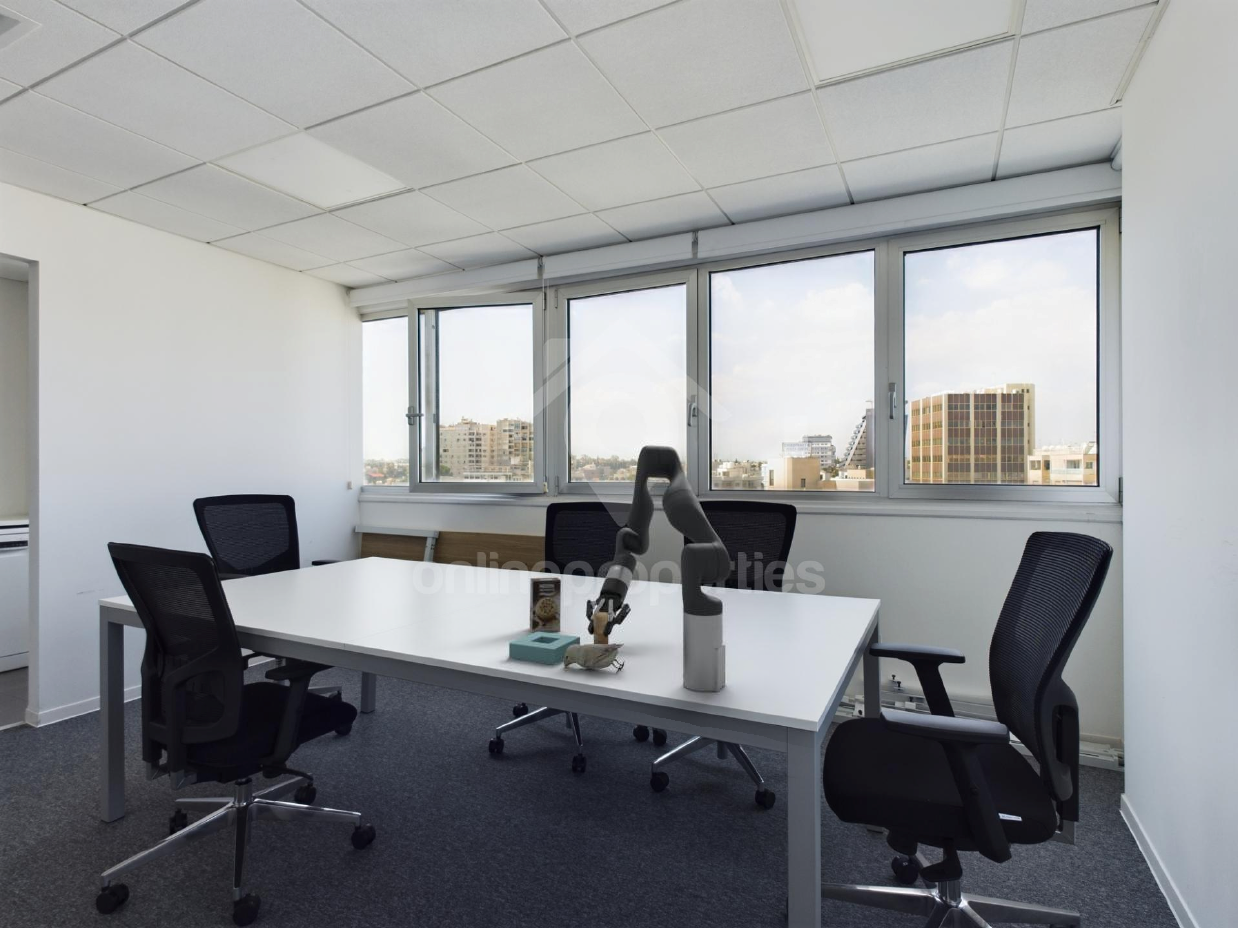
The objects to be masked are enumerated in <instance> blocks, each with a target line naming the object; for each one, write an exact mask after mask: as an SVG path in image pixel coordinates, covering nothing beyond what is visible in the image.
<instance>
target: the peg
mask: <svg viewBox="0 0 1238 928" xmlns="http://www.w3.org/2000/svg"><path fill="white" fill-rule="evenodd" d="M593 614H594V634H593V644H604V645H606V644H609V636H608V637H605V635H604V633H603V632H604V629H605V626H606V624H607V622H609V613H608V612H595V613H594V612H593Z"/></svg>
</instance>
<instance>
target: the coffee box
mask: <svg viewBox="0 0 1238 928" xmlns="http://www.w3.org/2000/svg"><path fill="white" fill-rule="evenodd" d="M529 584H530V586H529V587H530V589H529V590H530V591H529V592H530V593H529V629H530V631H531V633H535V632H545V633H551V632H560V631H561V614H562V613H561V608H562V607H561V606H562V605H561V601H562V600H561V599H562V597H561V594H562V592H561V591H562V588H561V587H562V586H561V585H562V579H560V578H559V577H536V578H535V577H532V578H530V583H529Z"/></svg>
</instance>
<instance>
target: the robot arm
mask: <svg viewBox="0 0 1238 928" xmlns="http://www.w3.org/2000/svg"><path fill="white" fill-rule="evenodd" d="M649 478H653V479H666V480H667V481H669V484H668V485H667V487H666V489H665V491H664V492H663V495H662V500H661V505H662V508H663V511H664V514H665V516H666V518H667V520H668V522H669V524H670V525H671V526H672V527H673V529H675V530H676V531H678V532H679V533H680V534H682V535H684V536H685V537H686V538H688V539H689V540H690V541H692V542H693V543H688V544H685V545H684V546H683V548H682V550H681V554H680V573H681V574H680V575H681V597H682V605H683V606H682V613H683V615H682V630H683V631H682V638H683V639H682V645H683V646H682V668H683V669H682V673H683V674H682V679H683V680H682V683H683V684H682V685H683V687H684V688H686V689H688V688H689V690H692V691H695V690H697V692H719V691H720V690H721V689H722V688H723V687H724V686H725V685H726V643H724V638H723V635H724V634H723V631H724V629H723V628H724V625H723V622H724V618H723V617H724V616H723V615H724V614H723V612H724V611H723V609H724V607H723V606H724V605H723V601H722V599H720V598H718V597H715V596H713V595H709V594H706V593H705V592H703V591H702V588H701V584H711V583H712V584H713V583H714V584H715V583H719V582H720V583H721V582H724V581H726V580H727V579H728V578H730V574H731V571H732V564H731V558H730V556H729V553H728V550H727V547H726V546H725V545H724V543H723V542H722V540H721V538H720V537H719V536H718V534H717V533H716V531H715V530H714V528H713V527H712V525H711V524H710V522H709V520H708V518H707V516H706V514H705V512H704V510H703V508H702V506H701V504H700V502H699V499H698V497H697V495H696V494H695V491H694V490H693V488H692V486H691V484H690V481H689V479H688V478H687V475H686V472H685V470H684V467H683V465H682V460H681V459H680V456H679V454H678V452H677V450H676V448H674V447H672V446H668V445H666V446H665V445H653V444H652V445H650V444H649V445H645V446H643V447H642V448H641V449H640V451H639V455H638V458H637V465H636V473H635V479H634V488H633V497H632V501H631V502H632V503H631V506H630V509H629V512H628V517H627V520H626V524H627V527H623V528H621V529H620V530H619V531H618V532H617V534H616V540H615V553H614V558H613V561H612V562H611V563H612V564H611V565H610V567H609V569H608V572H607V574H606V576H605V579H604V582H603V584H602V586H601V587H600V591H599V596H598V597H597V598H596V600H591V599H587V601H586V609H585V610H586V612H585V613H586V614H585V617H586V618H587V620H588V621H589V623H588V627H587V631H588V634H589V635H590V636H594V613H595V612H608V613H609V622H607V624H606V626H605V629H604V632H603V633H604V635H605V637H608V638H609V636H610V635H611V634H612V632H613V629H614V626H615V625H619V626H621V625H622V624H623V622H624V621H625V620H626V618H627V616H629V613H630V612H631V611H632V608H631V606H630V605H629V603H628V602H627V603H624V602H625V599H626V598H627V594H628V591H629V588H630V586H631V583H632V578H633V575H634V572H635V570H636V566H637V563H638V562H637V558H636V557H635V556H634V555H636V556H644V555H645V554H646V553H647V552H648V550H649V547H650V527H651V526H650V525H651V521H652V519H653V516H654V512H655V511H654V510H655V504H654V501H653V500H654V499H653V497H652V495H651V493H650V491H649V488H648V480H649Z"/></svg>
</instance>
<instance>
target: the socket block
mask: <svg viewBox="0 0 1238 928" xmlns="http://www.w3.org/2000/svg"><path fill="white" fill-rule="evenodd" d="M575 644H578V645H581V636H575V635H567V634H560V633H551V632H532V633H531V634H529V635H526V636H523V637H520V638H518V639H516V640H513V641H511V642H509V643H508V651H509V652H508V658H509V659H513V660H514V659H515V660H520V661H525V662H526V661H527V662H532V661H533V662H534V663H540V664H548V665H553V666H554V665H556V664H559V663H560V662H562V661H564V660H563V659H564V654H565V651H566V650H567V648H568V647H569V646H571V645H575Z"/></svg>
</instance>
